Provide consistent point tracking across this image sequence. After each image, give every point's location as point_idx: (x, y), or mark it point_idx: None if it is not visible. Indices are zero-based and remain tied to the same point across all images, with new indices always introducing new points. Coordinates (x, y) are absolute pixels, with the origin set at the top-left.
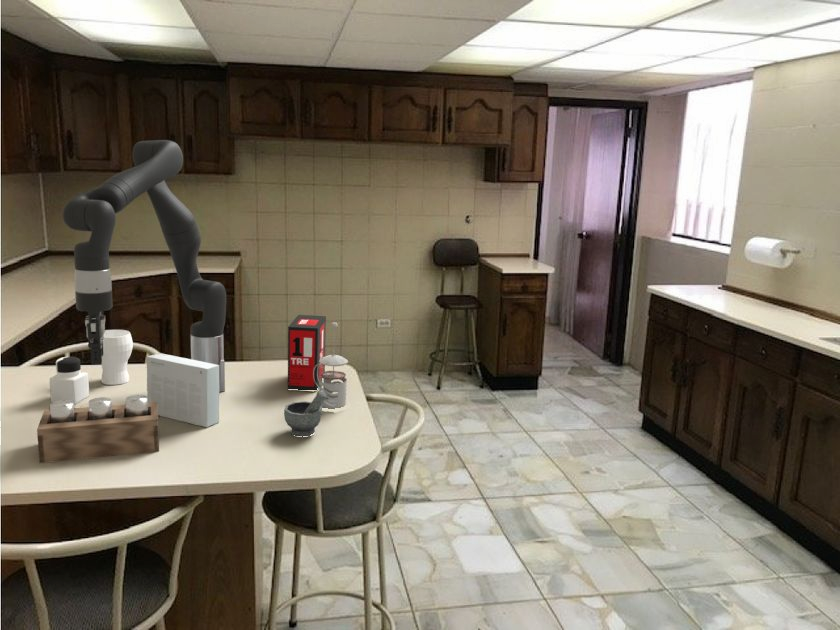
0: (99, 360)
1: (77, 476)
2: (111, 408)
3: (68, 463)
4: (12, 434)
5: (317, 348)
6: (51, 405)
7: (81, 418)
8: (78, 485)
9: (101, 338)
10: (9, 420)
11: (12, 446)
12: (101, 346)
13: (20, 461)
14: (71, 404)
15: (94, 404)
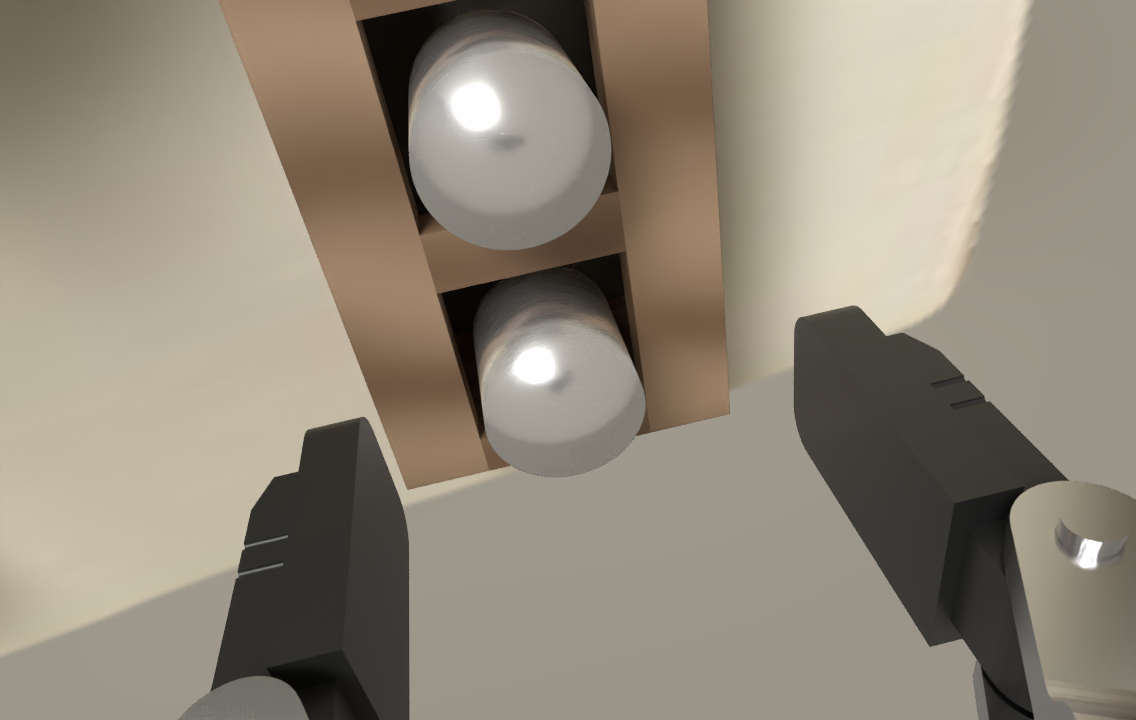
0: (935, 350)
1: (877, 73)
2: (492, 32)
3: None
4: None
5: None
6: (601, 459)
7: (568, 233)
8: (987, 35)
9: (1109, 706)
10: (134, 603)
11: None
12: (1090, 509)
13: None
14: (593, 349)
15: (604, 179)
